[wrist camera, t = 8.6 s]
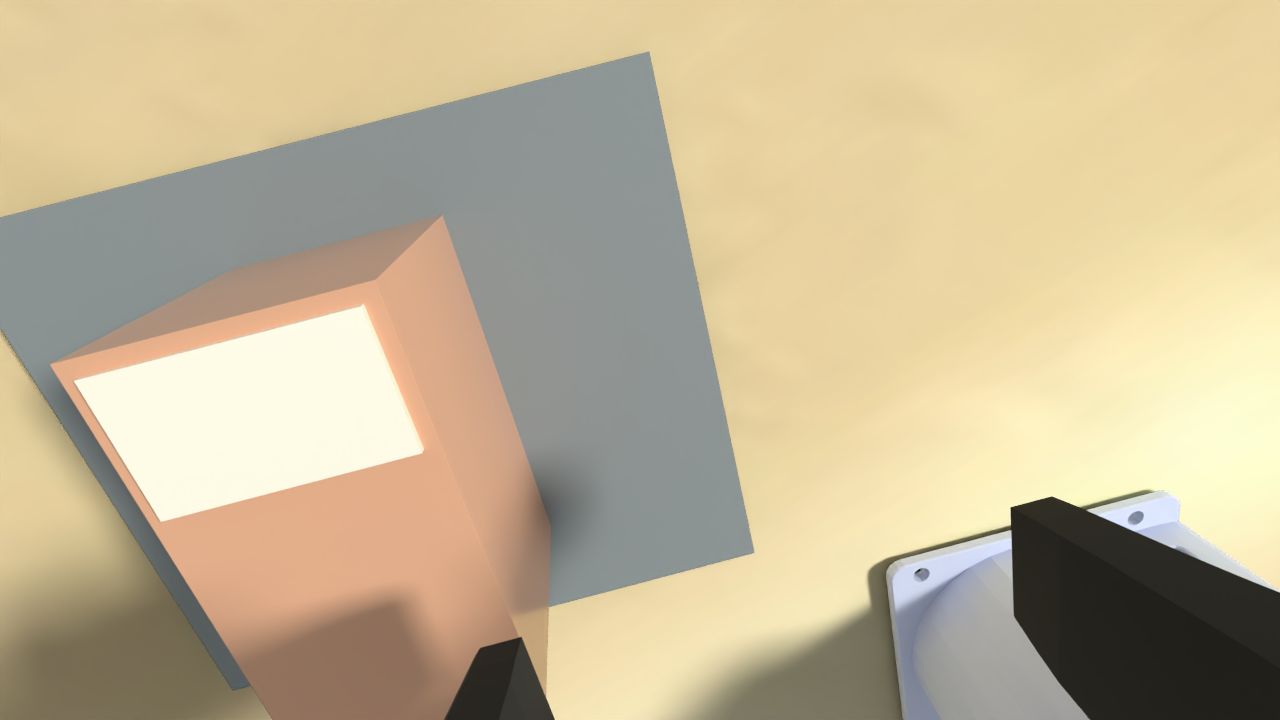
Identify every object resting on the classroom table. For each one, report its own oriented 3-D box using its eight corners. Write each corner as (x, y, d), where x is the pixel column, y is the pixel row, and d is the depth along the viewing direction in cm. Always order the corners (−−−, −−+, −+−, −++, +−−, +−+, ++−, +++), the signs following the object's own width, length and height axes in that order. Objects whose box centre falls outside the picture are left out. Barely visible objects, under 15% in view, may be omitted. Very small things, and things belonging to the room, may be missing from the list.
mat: (645, 53, 15) (649, 51, 15) (749, 540, 21) (754, 552, 20) (-38, 228, 15) (-62, 233, 15) (242, 674, 21) (232, 690, 20)
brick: (551, 526, 19) (545, 709, 13) (379, 571, 19) (300, 774, 13) (442, 214, 16) (372, 282, 10) (232, 269, 16) (42, 368, 10)
